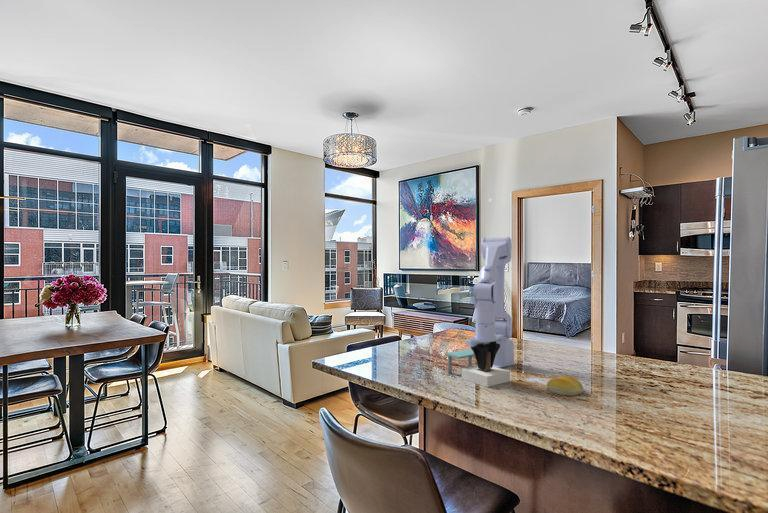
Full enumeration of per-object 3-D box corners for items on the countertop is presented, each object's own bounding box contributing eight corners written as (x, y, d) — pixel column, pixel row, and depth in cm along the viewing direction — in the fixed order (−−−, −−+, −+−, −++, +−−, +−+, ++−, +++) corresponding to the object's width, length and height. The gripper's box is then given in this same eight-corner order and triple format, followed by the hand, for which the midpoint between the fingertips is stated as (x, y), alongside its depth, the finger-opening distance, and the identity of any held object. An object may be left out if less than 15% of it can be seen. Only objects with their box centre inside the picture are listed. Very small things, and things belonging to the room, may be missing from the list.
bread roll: (541, 389, 110) (541, 375, 110) (563, 385, 114) (563, 371, 114) (565, 399, 103) (565, 383, 103) (589, 394, 107) (589, 379, 107)
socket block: (484, 373, 126) (484, 363, 126) (510, 381, 118) (509, 371, 118) (461, 378, 120) (461, 368, 120) (487, 387, 112) (487, 376, 112)
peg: (487, 373, 121) (487, 350, 121) (492, 376, 118) (492, 352, 118) (479, 374, 120) (479, 351, 120) (484, 376, 117) (484, 353, 117)
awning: (470, 368, 132) (470, 348, 132) (483, 372, 127) (483, 352, 127) (445, 373, 126) (445, 353, 126) (459, 377, 121) (459, 356, 121)
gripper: (490, 319, 127) (491, 361, 126) (458, 323, 118) (458, 368, 118) (509, 321, 121) (509, 366, 121) (476, 326, 113) (476, 374, 112)
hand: (485, 367), depth 119 cm, fingers closed on peg, 3 cm apart
